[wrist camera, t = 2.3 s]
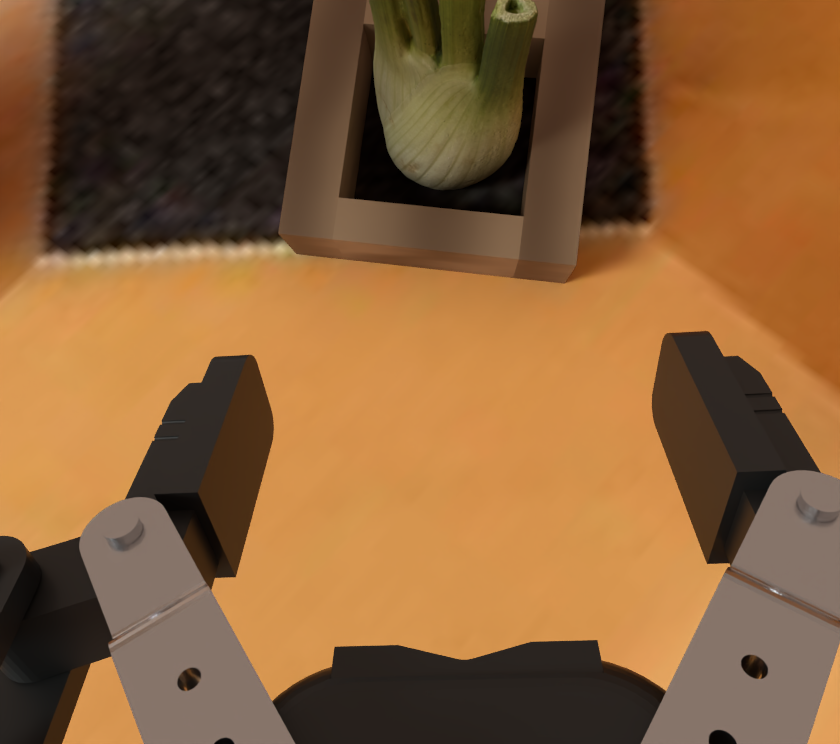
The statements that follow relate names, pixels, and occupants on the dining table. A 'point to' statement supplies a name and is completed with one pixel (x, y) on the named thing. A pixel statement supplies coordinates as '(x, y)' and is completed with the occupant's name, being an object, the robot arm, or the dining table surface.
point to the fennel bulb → (450, 85)
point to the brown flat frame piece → (429, 226)
